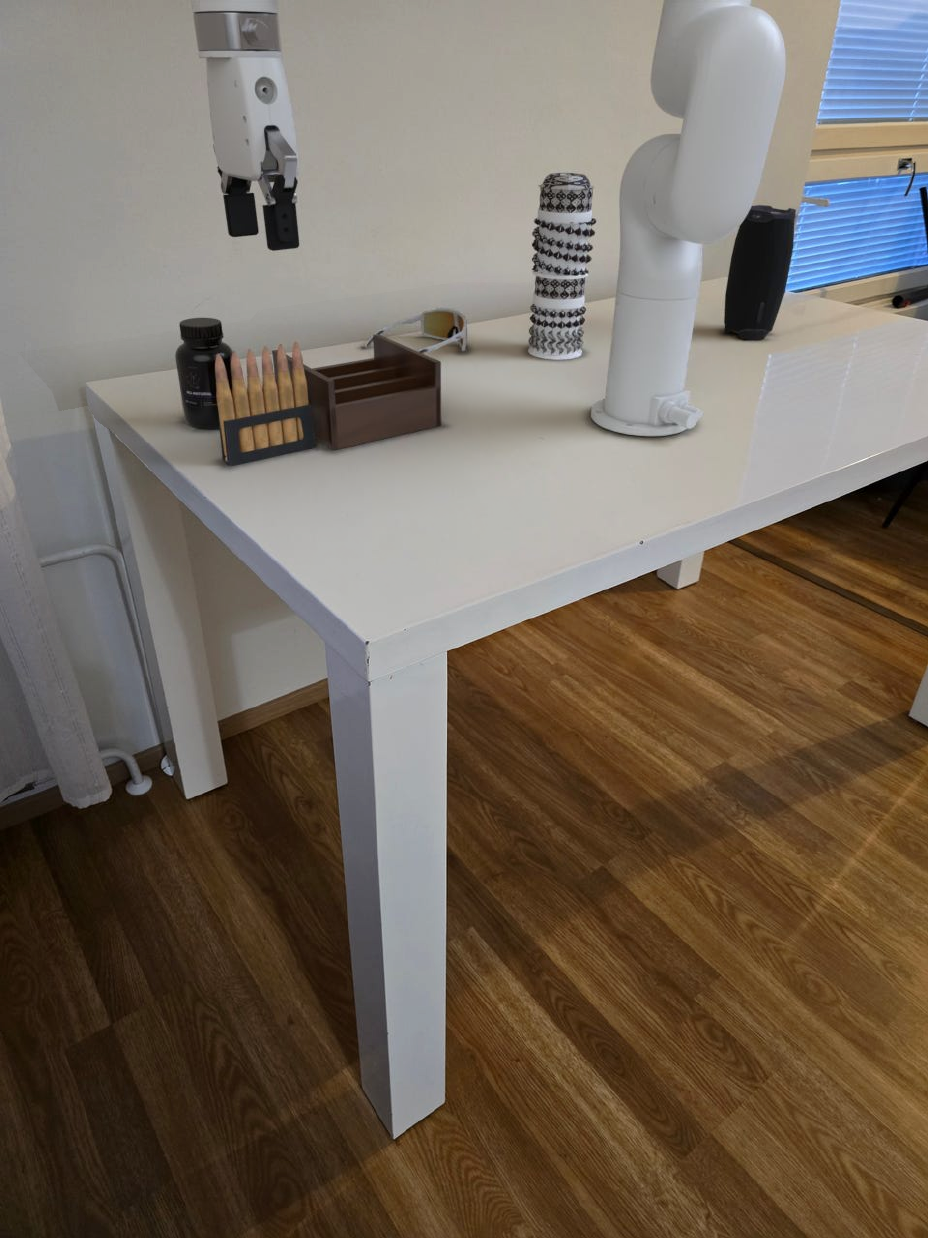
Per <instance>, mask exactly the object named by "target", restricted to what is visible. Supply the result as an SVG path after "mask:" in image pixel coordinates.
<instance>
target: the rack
mask: <svg viewBox="0 0 928 1238" xmlns="http://www.w3.org/2000/svg"><path fill="white" fill-rule="evenodd" d="M374 334H375V333H374ZM374 334H372V336H373V341H372V343H373V357H371V358H365V359H359V360H353V361H348V362H342V363H336V364H331V365H325V366H318V367H313V368H312V367H310V366H308V365H306V364H304V363H303V367H304V373H305V377H306V381H307V389H308V400H309V404H310V405H311V413H312V420H313V427H314V435H315V440H316V441H318V442H320V443H321V444H323V445H324V446H326V447H327V448H328V449H330V450H332V451H337V450H341V449H345V448H349V447H354V446H358V445H363V444H367V443H372V442H377V441H380V440H385V439H390V438H394V437H398V436H404V435H407V434H411V433H417V432H421V431H425V430H429V429H433V428H434V429H435V428H438V427H441V426H442V371H441V370H442V362H441V360H438V359H436V358H434V357H431V356H430V355H427V354H425V353H423V354H422V353H420V352H418V350H415V349H413V348H411V347H408V346H406V345H404V344H402V343H400V342H398V341H395V340H393V339H391V338H388V337H386V336H384V335H382V334H380V335H379V334H375V335H374ZM277 353H278V349H274V350H272V351H271V354H272V355H271V356H272V364H273V371H274V376H275V381H276V384H277V382H278V368H277ZM286 356H287V361H288V368H289V373H290V379H291V382H292V378H293V370H292V368H293V366H292V356H290V355H288V354H286ZM292 388H293V387H292ZM277 389H278V387H277ZM278 398H279V397H278Z"/></svg>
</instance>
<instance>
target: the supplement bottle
mask: <svg viewBox="0 0 928 1238" xmlns="http://www.w3.org/2000/svg"><path fill="white" fill-rule="evenodd" d="M179 332H180V335H179V336H180V340H181V341H182V342H183V343H181V344H180V345H179V346H178V347H177V349H176V350H175V353H174V354H175V355H174V358H175V365H176V371H177V378H178V385H179V391H180V398H181V405H182V410H183V417H184V420H185V422H186V423H187V424H188V425H189V426H191V427H192V428H196V429H202V430H215V429H217V430H218V429H220V428H219V418H218V417H219V411H218V404H217V397H216V392H217V387H216V376H215V361H216V356H217V354H220V356H221V358H222V360H223V362H224V365H225V368H226V372H227V378H228V382H229V388H230V391H231V394H232V375H231V357H232V353H233V351H234V350H233V349H232V347H231V346H230V344H227V343H226V342H225V341H223V339H224V332H223V325H222V321H221V320H219V319H217V318H215V317H191V318H187V319H182V320H181V321H180V322H179ZM232 399H233V398H232ZM233 406H234V405H233Z"/></svg>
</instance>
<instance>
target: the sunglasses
mask: <svg viewBox="0 0 928 1238" xmlns="http://www.w3.org/2000/svg"><path fill="white" fill-rule="evenodd" d="M416 322H420V329H421V334H422V336H424V337H428V338H432V339H436V340H441V342H438V343H436V344H433V345H430V346H425V347H423V348H420V349H418V350H417V351H418V352H420V353H422V354H425V353H429V352H432V351H436V350H438V349H439V348H442V347H444V346H445V345H449V344H450V343H458V345H459V347H460V348H461V352H466V346H467V342H468V341H467V340H468V328H467V325H468V320H467V318H466V316H465V315H464V313H463V312H461V311H459V310H458V309H453V308H448V307H437V308H435V309H430V310H424V311H423V312H421V313H420V314H416V315H413V316H410V317H407V318H405V319H401V320H399V321H397V322H394V323H392V324H390V325H386V326H384V327H382V328H380V329H379V330H377V331H376V332H375V333H374V334H373V335H375V334H379V335H382V334H384V333H387V332H390V331H391V330H393V329H395V328H397V327H399V326H403V325H408V324H410V325H411V324H414V323H416ZM373 335H372V336H371V337H370V338H369V339H368V340H367V341H366V343H365V344H364V348H366V349H368V348H369V346H370V345H371V344H372V343H373Z"/></svg>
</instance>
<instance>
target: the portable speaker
mask: <svg viewBox="0 0 928 1238" xmlns="http://www.w3.org/2000/svg"><path fill="white" fill-rule="evenodd" d="M796 212H797V209H795V208H790V207H789V208H788V209H781V208H774V207H773V206H771V205H765V204H756V205H752V206H751V209H750V211H749V212H748V214H747V216H746V218H745V219H744V221H743V222H742V223H741V225H740V226H739V227H738V229H737V233H736V236H735V239H734V243H733V247H732V252H731V256H730V261H729V262H730V263H729V268H728V275H727V281H726V286H725V287H726V288H725V292H724V293H725V294H724V317H723V324H724V328H723V334H725V335H727V334H729V333H730V332H732V333H736V334H738V336H739V338H740V339H742V340H746V341H758V340H760V341H761V340H764V339H765V338H766V336H767V335H768V334H769V333H771V332H772V331H773V330H774V326H775V323H776V320H777V318H778V314H779V312H780V310H781V306H782V303H783V301H784V297H785V293H786V288H787V283H788V278H789V272H790V268H791V261H792V257H793V251H794V242H795V241H794V239H795V219H796V217H797V213H796Z"/></svg>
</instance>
